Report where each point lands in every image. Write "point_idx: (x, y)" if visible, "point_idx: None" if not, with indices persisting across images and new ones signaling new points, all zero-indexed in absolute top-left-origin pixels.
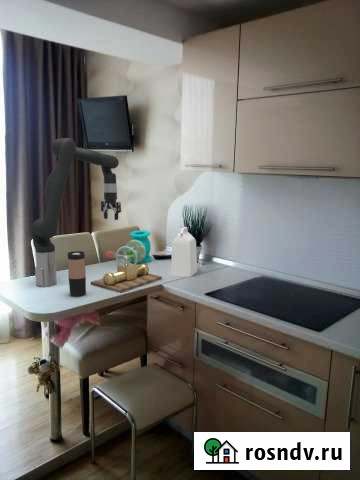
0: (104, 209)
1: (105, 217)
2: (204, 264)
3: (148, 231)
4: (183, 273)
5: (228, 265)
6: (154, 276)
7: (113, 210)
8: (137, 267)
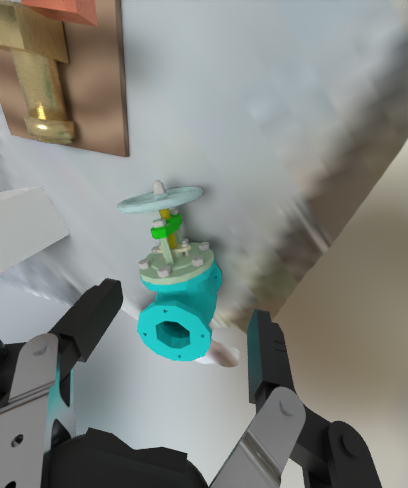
0: (271, 450)
1: (255, 323)
2: (70, 287)
3: (158, 353)
4: (9, 191)
5: (38, 293)
6: (22, 122)
7: (46, 387)
8: (23, 86)
